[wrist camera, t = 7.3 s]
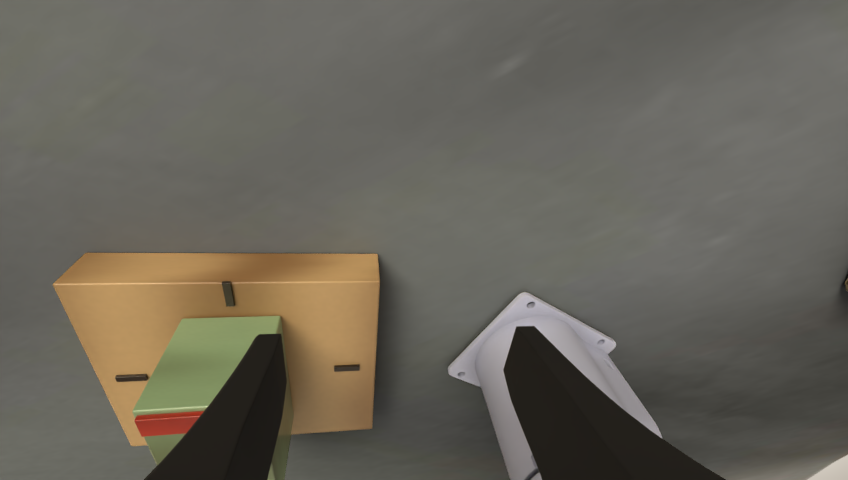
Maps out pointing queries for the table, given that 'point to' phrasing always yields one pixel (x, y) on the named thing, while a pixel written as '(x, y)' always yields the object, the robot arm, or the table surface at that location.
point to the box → (203, 381)
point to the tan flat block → (233, 297)
